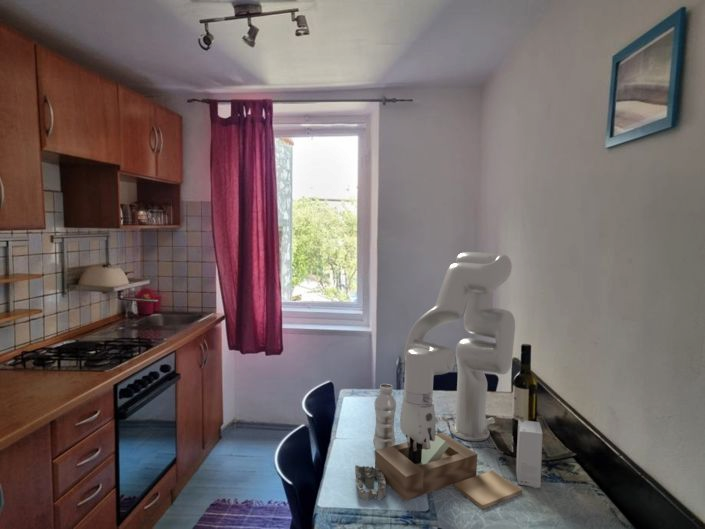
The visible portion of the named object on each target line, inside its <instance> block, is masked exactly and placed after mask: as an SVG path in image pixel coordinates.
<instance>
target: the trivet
mask: <svg viewBox="0 0 705 529" xmlns="http://www.w3.org/2000/svg"><path fill="white" fill-rule="evenodd" d="M453 488H454V489H456V490H457V491H458V492H459V493H461V494H462V495H463V496H464V497H465V498H467V499H469V500H470V502H472V503H473V504H475V505H476V506H477V507H479V508H480V509H482V510H484V509H486V508H489V507H492V506H494V505H496V504H499V503H502V502H504V501H507V500H509V499H511V498H514V497H516V496H519V495H520V494H522V493H523V489H522V488H520V487H519V486H517V485H515V484H514V483H512V482H511V481H509V480H508V479H507V478H505V477H503V476H502V475H500V474H499V473H497V472H496V471H494V470H489V471H486V472H484V473H480V474H476V476H474V477H472V478H469V479H466V480H463V481H460V482H457V483H454V484H453Z"/></svg>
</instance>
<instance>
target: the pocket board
mask: <svg viewBox="0 0 705 529" xmlns="http://www.w3.org/2000/svg"><path fill="white" fill-rule="evenodd" d="M435 435H437V436H438V437H440V438H441V439H443V440H444V441H446V443H447V444H448V446H449V448H448V449H447V450H446V451H445V452H444V454H443V455H442V456H441V457H440V458H439V460H436V461H433V462H430V463H427V464H423V465H420V466H417V465H415V464H414V463H413V462H412V461H410V460H409V459H408V455H409V448H410V447H408V445H407V441H405V442H403V443H399V444H395V445H394V446H390V447H387V448H383V449H379V450H376V449H375V451H374V452H375V454H374V457H375V458H374V468H377V467H378V468H379V469H380V472H382V473H383V475H384V478H385V482H386V486H388V487H389V486H390V487H391V488H390V487H389V488H390V489H391V490H392V491H393V492H395V493H396V494H397V496H398V497H400V498H401V499H402V500H403V501H404V502H407V501H411V500H412V499H417V498H419V497H421V496H422V497H423V496H424V495H429V494H430V493H433V492H436V491H439V490H442V489H444V488H447V487H451V486H454V483H457V482H460V481H463V480H466V479H469V478H472V477H474V476H477V472H478V471H477V467H478V453H477V452H475V451H474V450H472V449H470V448H469V447H467V446H466V445H464V444H462V443H461V442H459V441H458V440H456V439H454V438H453V437H451V436H450V435H448V434H446V433H445V432H438V433H436V434H435ZM418 444H419V443H418Z"/></svg>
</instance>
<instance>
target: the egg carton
mask: <svg viewBox="0 0 705 529" xmlns="http://www.w3.org/2000/svg"><path fill="white" fill-rule="evenodd" d="M354 473H355V474H354V476H355V479H354V480H355V483H356V490H358V498H360V499H363V500H364V501H369V500H370V498H375V497H376V498H375V499H377V500H378V499H383V498H384V496H386V493H387V491H386V488H387V484H386V482H385V478H384V475H383V473H382V472H380V469H379V468H378V467H377V468H375V467H374V466H369V465H368V466H366V465H363V466H360V465H355V468H354ZM376 477H377V478H376ZM362 478H364V485H365V486H366V487H371V488H369V489H365V488H364V485H363V481H362ZM374 478H376V479H377V482H376V483H378V484H377V486H379V485H380V486H379V488H378V489H377V490H376V489H373V488H372V487H373V486H374V482H375V481H374ZM382 497H383V498H382Z"/></svg>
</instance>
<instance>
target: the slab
mask: <svg viewBox="0 0 705 529" xmlns="http://www.w3.org/2000/svg"><path fill="white" fill-rule="evenodd" d="M448 448H449V446H448V444H447V443H446V441H444V440H443V439H441V438H440V437H438V436H437V435H435V441H430V449H427V450H425V449H422V458H421V463H418V464H415V465H417V466H420V465H423V464H427V463H430V462H433V461H436V460H439V458H440V457H441V456H442V455H443V454H444V452H445V451H446V450H447V449H448Z"/></svg>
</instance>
